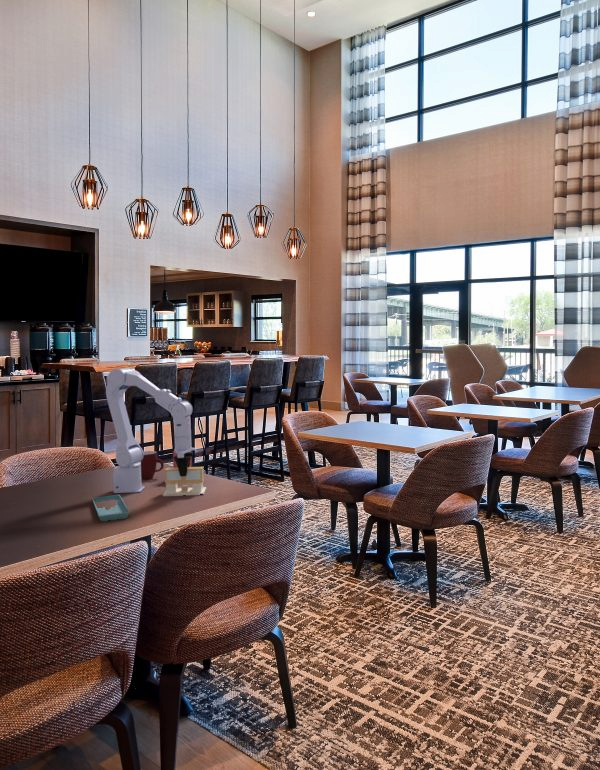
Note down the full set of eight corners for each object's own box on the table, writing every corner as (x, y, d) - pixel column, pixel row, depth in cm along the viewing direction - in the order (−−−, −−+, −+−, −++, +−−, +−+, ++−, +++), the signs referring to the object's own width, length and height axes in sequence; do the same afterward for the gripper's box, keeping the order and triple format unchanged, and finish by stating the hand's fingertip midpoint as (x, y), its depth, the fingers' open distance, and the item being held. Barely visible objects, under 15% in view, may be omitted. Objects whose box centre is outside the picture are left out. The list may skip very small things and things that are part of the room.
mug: (165, 475, 250) (164, 450, 249) (162, 479, 242) (161, 454, 241) (138, 476, 249) (137, 451, 249) (135, 480, 241) (134, 455, 241)
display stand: (162, 496, 216) (162, 486, 215) (167, 490, 225) (166, 480, 224) (203, 494, 216) (203, 484, 216) (206, 488, 225) (206, 478, 225)
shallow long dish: (91, 503, 210) (91, 496, 210) (120, 500, 214) (119, 493, 213) (98, 524, 186) (98, 516, 186) (130, 520, 189) (130, 512, 189)
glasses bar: (165, 484, 218) (164, 469, 218) (166, 482, 222) (166, 468, 221) (202, 482, 219) (202, 468, 219) (203, 480, 222) (203, 466, 222)
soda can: (194, 475, 247) (193, 445, 247) (189, 479, 240) (188, 448, 240) (177, 475, 248) (175, 445, 247) (171, 479, 241) (170, 449, 240)
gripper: (191, 438, 212) (193, 478, 213) (196, 432, 226) (198, 469, 227) (170, 439, 212) (172, 479, 213) (177, 433, 226) (178, 470, 227)
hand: (184, 474), depth 220 cm, fingers open, 5 cm apart
